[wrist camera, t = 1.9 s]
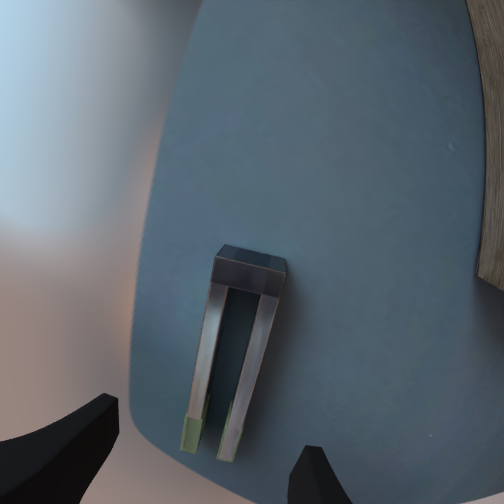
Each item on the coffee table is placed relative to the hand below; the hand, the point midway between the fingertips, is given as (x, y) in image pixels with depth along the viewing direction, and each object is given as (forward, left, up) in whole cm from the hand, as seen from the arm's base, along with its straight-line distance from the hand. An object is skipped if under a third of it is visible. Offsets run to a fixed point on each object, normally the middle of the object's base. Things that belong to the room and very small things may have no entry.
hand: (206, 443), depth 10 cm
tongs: (0, 0, -7) cm, 7 cm away
